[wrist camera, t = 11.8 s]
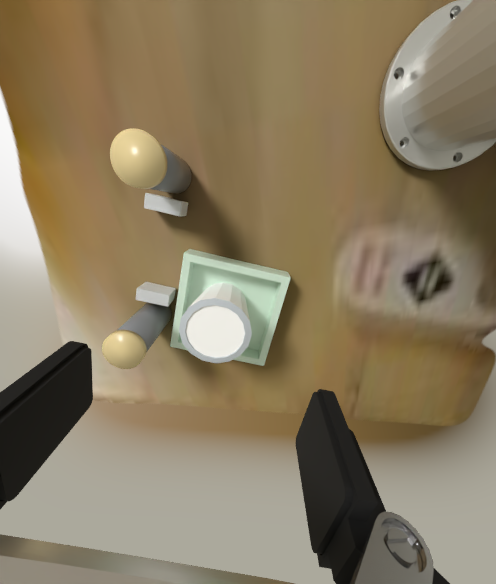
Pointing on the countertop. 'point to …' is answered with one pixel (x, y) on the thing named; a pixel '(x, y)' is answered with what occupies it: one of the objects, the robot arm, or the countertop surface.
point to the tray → (253, 284)
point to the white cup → (217, 324)
